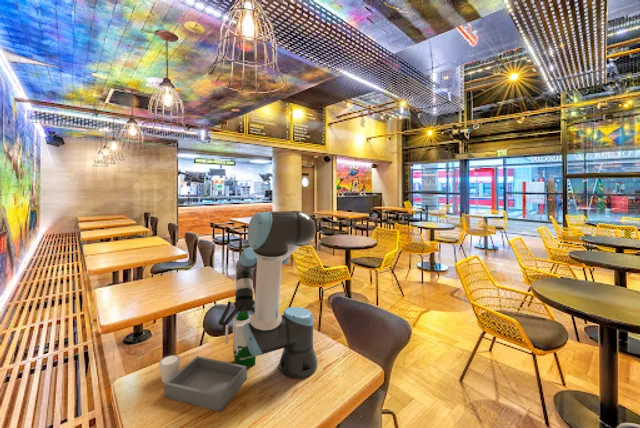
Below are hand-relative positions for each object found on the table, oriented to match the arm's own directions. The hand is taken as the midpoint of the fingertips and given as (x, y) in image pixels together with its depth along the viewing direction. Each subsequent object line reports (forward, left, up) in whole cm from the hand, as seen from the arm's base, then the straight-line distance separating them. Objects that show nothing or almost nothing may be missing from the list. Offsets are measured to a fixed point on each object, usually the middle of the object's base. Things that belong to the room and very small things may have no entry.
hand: (244, 340), depth 110 cm
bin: (+6, +15, -10) cm, 19 cm away
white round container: (+23, +15, -10) cm, 29 cm away
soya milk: (+1, -1, -10) cm, 11 cm away
